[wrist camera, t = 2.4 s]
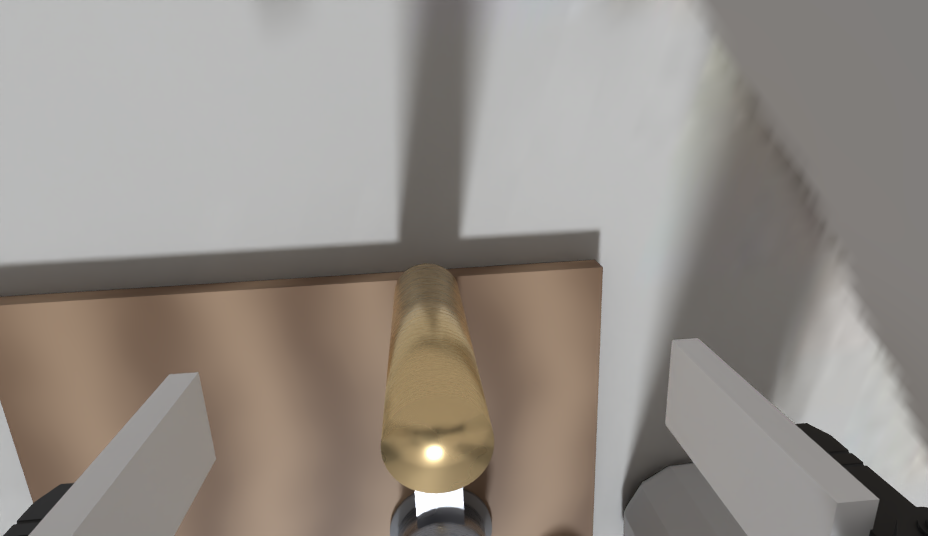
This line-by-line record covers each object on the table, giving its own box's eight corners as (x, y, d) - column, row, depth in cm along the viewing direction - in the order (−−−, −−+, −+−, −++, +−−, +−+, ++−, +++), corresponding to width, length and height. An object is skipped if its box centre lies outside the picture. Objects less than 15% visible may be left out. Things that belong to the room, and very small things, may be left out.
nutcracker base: (101, 655, 31) (51, 746, 27) (-10, 297, 25) (-98, 340, 20) (583, 604, 33) (608, 680, 29) (594, 259, 27) (629, 291, 22)
